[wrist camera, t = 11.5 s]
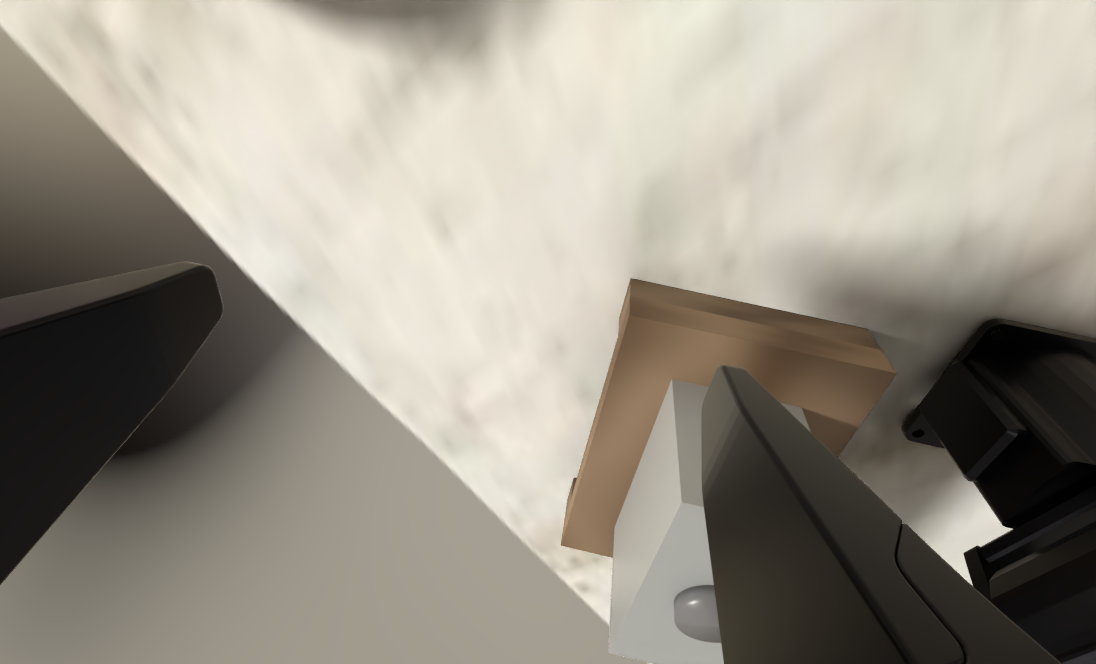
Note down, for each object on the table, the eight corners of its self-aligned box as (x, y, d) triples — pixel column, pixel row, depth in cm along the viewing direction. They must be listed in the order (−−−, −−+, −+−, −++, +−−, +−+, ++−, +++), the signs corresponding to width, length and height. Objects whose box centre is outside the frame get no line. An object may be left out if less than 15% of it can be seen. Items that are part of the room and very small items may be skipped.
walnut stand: (867, 329, 21) (897, 373, 19) (735, 539, 30) (744, 588, 27) (630, 278, 21) (629, 315, 19) (567, 499, 30) (560, 545, 27)
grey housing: (715, 551, 26) (734, 699, 20) (614, 527, 26) (607, 668, 20) (801, 407, 20) (860, 560, 15) (671, 378, 20) (683, 519, 15)
